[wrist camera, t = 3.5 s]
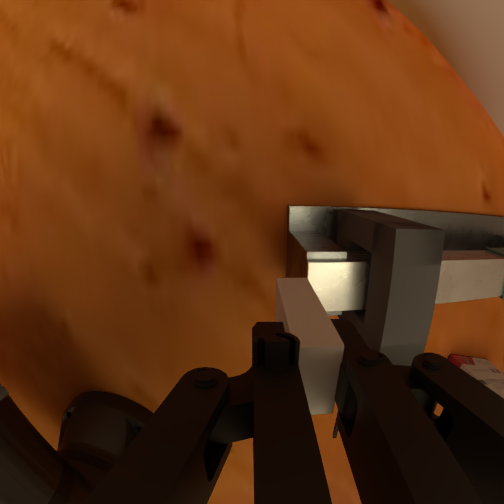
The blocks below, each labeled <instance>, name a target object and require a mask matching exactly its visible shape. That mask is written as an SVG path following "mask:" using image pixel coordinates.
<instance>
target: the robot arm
mask: <svg viewBox="0 0 504 504" xmlns="http://www.w3.org/2000/svg"><path fill="white" fill-rule="evenodd" d="M8 394H9V393H8V391H7V390H6V388H5V387H4V386H1V384H0V504H207V502H208V500H209V498H210V496H211V493H212V491H213V489H214V487H215V484H216V482H217V480H218V478H219V475H220V473H221V471H222V468H223V466H224V464H225V461H226V459H227V457H228V454H229V452H230V450H231V447H232V442H236V441H240V440H244V439H248V438H253V459H254V504H332V502H331V497H330V493H329V489H328V484H327V480H326V476H325V472H324V467H323V463H322V459H321V455H320V451H319V446H318V442H317V438H316V434H315V430H314V426H313V422H312V418H311V415H315V414H327V413H333V409H334V404H335V402H336V404H337V407H338V413H337V418H336V422H335V427H334V431H333V438H336V436H337V432H338V430H339V432H340V435H341V438H342V442H343V445H344V448H345V451H346V454H347V457H348V460H349V464H350V467H351V470H352V473H353V477H354V480H355V483H356V486H357V490H358V493H359V496H360V500H361V503H362V504H504V398H502V397H501V396H500V395H498V394H497V393H495V392H494V391H492V390H491V389H490V388H488V387H487V386H485V385H484V384H482V383H481V382H480V381H478V380H477V379H475V378H474V377H472V376H471V375H470V374H468V373H467V372H465V371H464V370H462V369H461V368H459V367H458V366H456V365H455V364H454V363H452V362H451V361H449V360H448V359H446V358H445V357H443V356H441V355H438V354H435V353H429V352H428V353H421V354H418V355H416V356H415V357H414V359H413V361H412V365H411V366H404V365H393V364H392V363H391V361H390V360H389V359H388V357H387V356H386V355H384V354H383V353H381V352H379V351H376V350H371V349H370V348H369V347H368V345H367V344H366V342H365V341H364V339H363V338H362V336H360V334H359V332H358V331H357V329H356V328H355V326H354V325H353V323H351V322H349V321H348V320H346V319H330V318H329V316H328V314H327V312H326V311H325V309H324V307H323V305H322V303H321V302H320V300H319V298H318V296H317V294H316V293H315V291H314V289H313V287H312V286H311V284H310V282H309V280H308V279H307V278H276V308H275V322H257V323H256V324H255V325H254V327H253V328H252V367H251V368H250V369H249V370H248V371H247V372H246V373H243V374H241V375H238V376H235V377H230V378H228V376H227V374H226V373H224V372H223V371H221V370H219V369H215V368H208V367H203V368H196V369H193V370H191V371H188V372H187V373H186V374H185V375H183V376H182V378H181V379H180V380H179V382H178V383H177V384H176V385H175V387H174V388H173V389H172V391H171V392H170V393H169V395H168V396H167V397H166V398H165V400H164V401H163V402H162V404H161V405H160V406H159V408H158V409H157V410H156V411H155V413H154V414H152V413H150V412H149V411H148V410H146V409H145V408H143V407H141V406H140V405H138V404H136V403H134V402H132V401H130V400H128V399H125V398H123V397H120V396H117V395H114V394H109V393H104V392H86V393H83V394H80V395H78V396H77V397H75V398H74V399H73V400H72V402H71V403H70V404H69V406H68V407H67V409H66V410H65V412H64V415H63V419H62V424H61V430H60V436H59V443H58V449H57V451H56V450H55V449H54V448H53V447H52V446H51V445H50V444H49V443H48V442H47V441H46V440H45V439H44V438H43V436H42V435H41V434H40V433H39V432H38V431H37V430H36V429H35V427H34V426H33V425H32V424H31V423H30V421H29V420H28V419H27V418H26V417H25V415H24V414H23V413H22V412H21V410H20V409H19V408H18V407H17V405H16V404H15V403H14V401H13V400H12V399H11V397H10V396H9V395H8ZM438 403H439V404H440V405H441V406H442V407H444V408H443V411H442V413H441V415H440V416H437V415H435V414H434V411H435V409H436V406H437V404H438Z"/></svg>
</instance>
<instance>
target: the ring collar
mask: <svg viewBox="0 0 504 504" xmlns="http://www.w3.org/2000/svg"><path fill="white" fill-rule="evenodd" d="M444 235H445V230H443V229H439V228H436V227H432V226H429V225H426V224H422V223H419V222H415V221H412V220H408V219H404V218H401V217H397V216H393V215H390V214H386V213H382V212H378V211H374V210H352V209H338V222H337V245H338V246H340V247H341V248H342V249H344V250H345V251H369V252H371V253H372V256H371V267H370V277H369V287H368V295H367V304H366V309H364V310H347V311H342V315H337V316H338V317H339V319H346V320H348V321H349V322H351V323H353V325H354V326H355V328H356V329H357V331H358V332H359V334H360V336H362V338H363V339H364V341H365V342H366V344H367V345H368V347H369V348H370V349H371V350H376V351H379V352H381V353H383V354H384V355H386V356H387V357H388V359H389V360H390V361H391V363H392V364H393V365H404V366H411V365H412V361H413V359H414V357H415V356H416V355H418V354H421V353H424V350H425V346H426V342H427V338H428V334H429V329H430V325H431V320H432V315H433V310H434V305H435V300H436V295H437V289H438V283H439V276H440V269H441V262H442V254H443V245H444Z"/></svg>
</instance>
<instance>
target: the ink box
mask: <svg viewBox="0 0 504 504" xmlns="http://www.w3.org/2000/svg"><path fill="white" fill-rule="evenodd" d="M448 360H449V361H451V362H452V363H454V364H455V365H456V366H458V367H459V368H461V369H462V370H464V371H465V372H467V373H468V374H470V375H471V376H472V377H474V378H475V379H477V380H478V381H480V382H481V383H482V384H484V385H485V386H487V387H488V388H490V389H491V390H492V391H494V392H495V393H497V394H498V395H500V396H501V397H502V398H504V374H503V373H502V372H501V371H500V370H498V369H497V368H496V367H495V366H494V365H493V364H492V363H491V362H489V361H488V360H487V359H481V358H474V357H467V356H460V355H455V354H451V355H450V357H449V359H448Z"/></svg>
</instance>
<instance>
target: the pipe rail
mask: <svg viewBox="0 0 504 504" xmlns="http://www.w3.org/2000/svg"><path fill="white" fill-rule="evenodd" d="M338 209H352V210H374V211H378V212H382V213H386V214H390V215H393V216H397V217H401V218H404V219H408V220H412V221H415V222H419V223H422V224H426V225H429V226H432V227H436V228H439V229H443V230H445V235H444V245H443V254H442V262H441V269H440V276H439V283H438V289H437V295H436V300H435V304H439V303H449V302H458V301H466V300H475V299H483V298H490V297H500V298H502V299H504V217H503V216H492V215H482V214H470V213H458V212H444V211H430V210H413V209H395V208H373V207H345V206H302V205H288V242H287V278H307V279H308V280H309V282H310V284H311V286H312V287H313V289H314V291H315V293H316V294H317V296H318V298H319V300H320V302H321V303H322V305H323V307H324V309H325V311H326V312H327V314H328V315H342V311H347V310H364V309H366V304H367V295H368V287H369V277H370V267H371V256H372V253H371V252H369V251H345V250H344V249H342V248H341V247H340V246H338V245H337V222H338Z"/></svg>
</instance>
